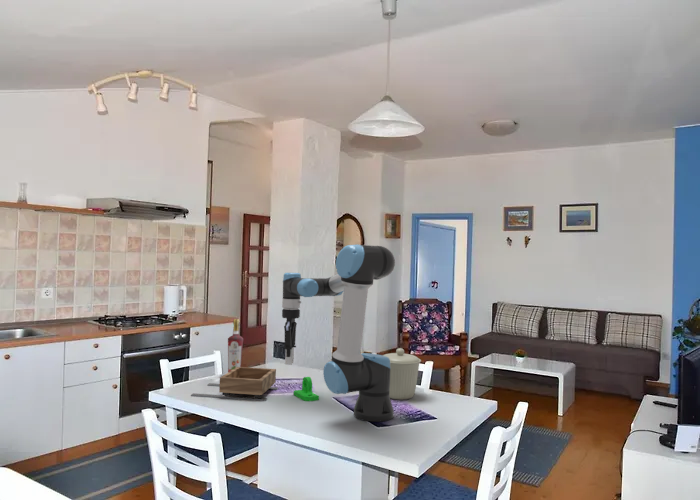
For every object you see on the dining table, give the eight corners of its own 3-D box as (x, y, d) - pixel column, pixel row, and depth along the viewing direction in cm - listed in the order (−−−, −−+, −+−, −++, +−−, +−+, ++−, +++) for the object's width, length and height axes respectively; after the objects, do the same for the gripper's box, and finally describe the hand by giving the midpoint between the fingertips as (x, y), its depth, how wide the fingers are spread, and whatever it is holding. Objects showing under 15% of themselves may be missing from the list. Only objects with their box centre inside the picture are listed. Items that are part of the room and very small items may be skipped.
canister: (384, 389, 238) (385, 343, 238) (423, 394, 232) (424, 347, 232) (372, 399, 221) (374, 349, 221) (414, 404, 215) (416, 353, 215)
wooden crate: (261, 399, 213) (262, 380, 213) (219, 396, 215) (219, 377, 215) (275, 386, 234) (275, 369, 235) (236, 383, 236) (237, 366, 237)
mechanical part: (293, 395, 224) (294, 376, 224) (306, 393, 227) (306, 375, 227) (305, 402, 214) (306, 382, 214) (318, 400, 217) (319, 381, 217)
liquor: (242, 375, 256) (244, 318, 256) (240, 379, 249) (242, 320, 249) (227, 375, 255) (229, 318, 256) (225, 379, 248) (227, 320, 248)
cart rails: (265, 400, 213) (265, 399, 213) (190, 396, 217) (190, 394, 217) (278, 388, 233) (278, 387, 233) (209, 384, 237) (209, 383, 237)
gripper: (295, 310, 215) (294, 367, 214) (303, 307, 230) (301, 360, 230) (277, 310, 216) (276, 366, 215) (286, 306, 231) (285, 359, 231)
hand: (289, 363), depth 223 cm, fingers open, 3 cm apart
